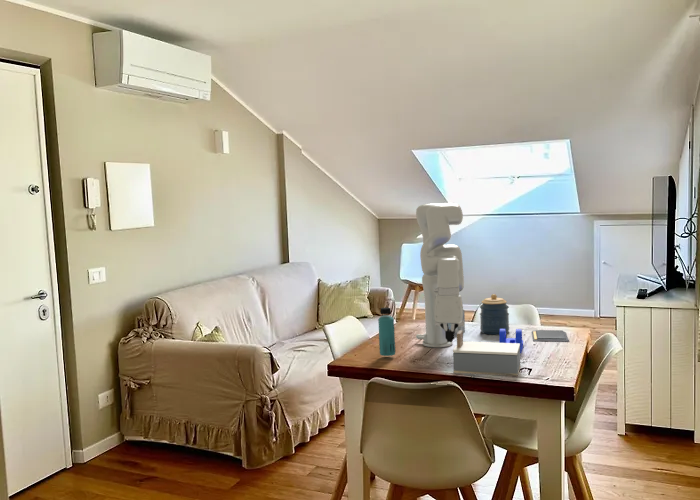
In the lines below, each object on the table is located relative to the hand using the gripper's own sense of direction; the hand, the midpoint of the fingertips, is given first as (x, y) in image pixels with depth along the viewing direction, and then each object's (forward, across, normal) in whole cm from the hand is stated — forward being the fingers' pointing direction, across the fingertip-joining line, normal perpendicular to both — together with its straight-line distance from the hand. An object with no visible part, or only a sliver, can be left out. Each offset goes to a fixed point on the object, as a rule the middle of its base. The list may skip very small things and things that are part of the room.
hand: (450, 341), depth 221 cm
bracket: (+10, +19, +34) cm, 40 cm away
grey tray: (+10, +13, 0) cm, 16 cm away
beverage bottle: (+10, -27, +9) cm, 30 cm away
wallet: (+10, +33, +56) cm, 66 cm away
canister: (+10, +9, +62) cm, 63 cm away
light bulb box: (+10, -10, +58) cm, 60 cm away
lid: (+2, +13, 0) cm, 13 cm away
